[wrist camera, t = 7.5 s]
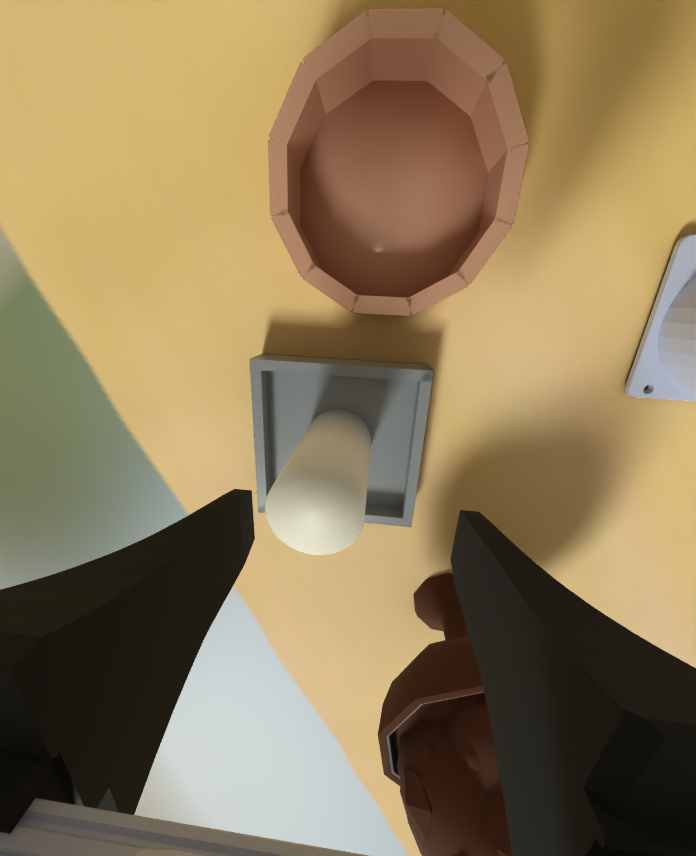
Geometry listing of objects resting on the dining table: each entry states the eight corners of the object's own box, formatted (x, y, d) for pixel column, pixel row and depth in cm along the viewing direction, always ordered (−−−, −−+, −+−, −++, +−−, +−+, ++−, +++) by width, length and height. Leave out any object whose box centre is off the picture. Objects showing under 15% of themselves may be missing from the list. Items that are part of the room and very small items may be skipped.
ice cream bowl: (461, 517, 23) (594, 859, 9) (552, 613, 25) (776, 1010, 11) (350, 590, 26) (315, 927, 12) (439, 669, 28) (499, 1033, 14)
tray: (428, 364, 19) (433, 370, 17) (408, 508, 23) (411, 527, 21) (261, 354, 20) (249, 359, 18) (267, 496, 23) (258, 512, 22)
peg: (374, 412, 20) (368, 475, 12) (368, 471, 21) (360, 560, 14) (308, 405, 20) (264, 463, 12) (306, 464, 21) (266, 548, 14)
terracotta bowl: (521, 64, 14) (555, 7, 12) (476, 318, 18) (494, 320, 15) (285, 64, 15) (264, 9, 12) (288, 308, 19) (272, 308, 16)
